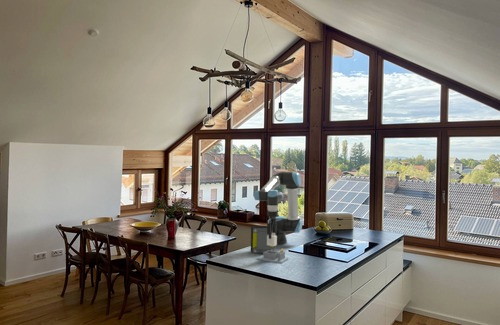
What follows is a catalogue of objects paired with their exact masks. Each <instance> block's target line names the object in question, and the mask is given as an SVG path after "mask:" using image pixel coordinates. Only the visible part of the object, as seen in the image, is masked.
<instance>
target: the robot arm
mask: <svg viewBox="0 0 500 325" xmlns="http://www.w3.org/2000/svg"><path fill="white" fill-rule="evenodd" d="M301 185H302V178H301V175H300V173H299V172H295V171H281V172H280V171H279V172H277V173H274V174H273V175H272V176H271V177H270V178H269V180H268V182H266V184H265V185H264V186H263V187H262V188H261V189H260V190H255V191H254V193H253V198H254V200H255V201H261V202H264V201H265V202H267V206H266V207H267V215H266V216H267V217H268V220H266V226H267V234H269V240H268V243H272V235H275V236H277V245H286V244H288V240H287V236H286V232H287V233H292V234H293V233H294V234H297V233H300V232H301V230H302V228H303V219H301V217H300V216H299V199H298V196H299V195H298V189H299V188H300V187H301ZM279 186H285V189H286V190H287V209H288V210H287V212H288V216H278V215H279V214H278V213H279V211H278V209H279V208H278V207H279V202H281V201H282V200H283V199H284V194H283V192H281V191H279V190H277V189H275V188H276V187H279ZM272 232H273V233H272Z"/></svg>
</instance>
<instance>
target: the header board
mask: <svg viewBox="0 0 500 325" xmlns="http://www.w3.org/2000/svg"><path fill="white" fill-rule="evenodd" d="M256 260H259V261H265V262H270V263H271V262H272V263H276V264H283V263H285V262H287V261H288V260H289V258H288V257H286V251H284V248H281V249H280V250H279V251H275V250H274V251H270V250H268V251H266V252H263V253H262V255H260V256H258V257H257V258H256Z"/></svg>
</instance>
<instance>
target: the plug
mask: <svg viewBox="0 0 500 325" xmlns="http://www.w3.org/2000/svg"><path fill="white" fill-rule="evenodd" d="M268 240H269V235H268V236H267V245H269V246H274V247H276V246H278V244H277V236H275V235H272V243H268Z"/></svg>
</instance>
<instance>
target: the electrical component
mask: <svg viewBox="0 0 500 325" xmlns="http://www.w3.org/2000/svg"><path fill="white" fill-rule="evenodd" d="M272 233H273V232H272ZM268 235H269V234H267V225H257V226H256V225H255V226H253V225H251V226H250V253H251V254H263V252H266V251H268V250H270V251H275V250H274V249H275V246H269V245H267V236H268Z"/></svg>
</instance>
